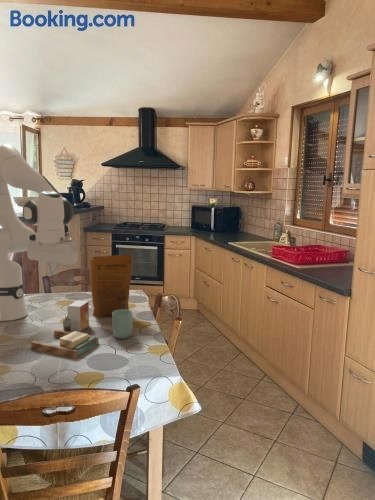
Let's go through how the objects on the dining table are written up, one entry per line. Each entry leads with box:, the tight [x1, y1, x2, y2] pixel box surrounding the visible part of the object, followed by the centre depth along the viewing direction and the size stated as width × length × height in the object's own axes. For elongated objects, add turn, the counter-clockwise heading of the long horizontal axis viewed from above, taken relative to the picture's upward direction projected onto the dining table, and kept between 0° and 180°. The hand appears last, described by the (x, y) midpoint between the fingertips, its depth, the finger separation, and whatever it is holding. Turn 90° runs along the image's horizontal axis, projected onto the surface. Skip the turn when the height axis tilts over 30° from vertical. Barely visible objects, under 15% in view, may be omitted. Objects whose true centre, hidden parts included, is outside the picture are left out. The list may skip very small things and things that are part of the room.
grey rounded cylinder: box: [62, 313, 74, 332], centre depth 154 cm, size 3×3×8 cm
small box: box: [67, 300, 90, 333], centre depth 161 cm, size 8×6×10 cm
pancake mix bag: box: [88, 254, 134, 318], centre depth 175 cm, size 7×19×28 cm, turn 105°
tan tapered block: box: [59, 331, 89, 349], centre depth 141 cm, size 6×8×5 cm
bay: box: [30, 328, 99, 359], centre depth 143 cm, size 19×14×3 cm
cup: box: [111, 309, 134, 340], centre depth 153 cm, size 8×8×10 cm
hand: (52, 273), depth 145 cm, fingers closed
